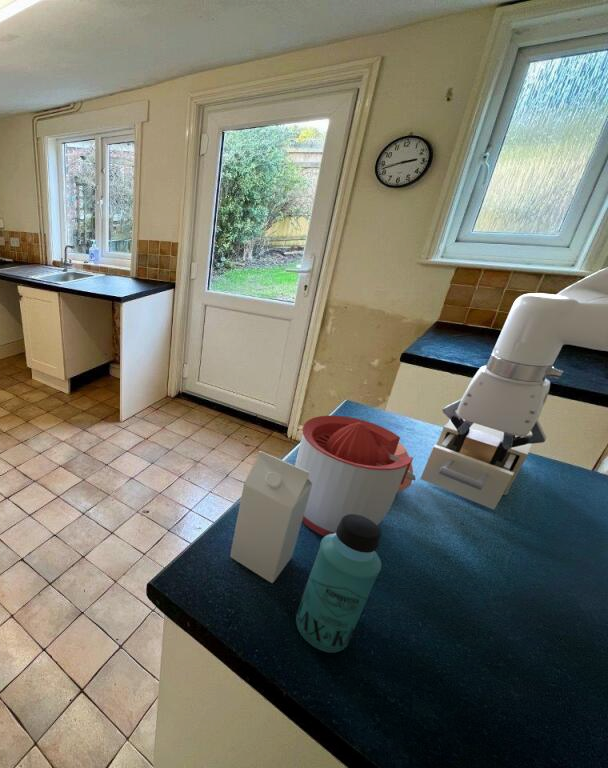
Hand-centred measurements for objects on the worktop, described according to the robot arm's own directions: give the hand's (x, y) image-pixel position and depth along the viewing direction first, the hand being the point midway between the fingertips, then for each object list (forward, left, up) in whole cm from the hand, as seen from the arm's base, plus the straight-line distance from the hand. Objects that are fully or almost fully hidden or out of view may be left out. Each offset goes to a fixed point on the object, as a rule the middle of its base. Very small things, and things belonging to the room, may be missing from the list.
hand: (475, 455), depth 78 cm
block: (0, 0, 0) cm, 0 cm away
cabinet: (0, -11, -8) cm, 14 cm away
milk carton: (+16, +46, -8) cm, 49 cm away
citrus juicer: (+12, +28, -8) cm, 31 cm away
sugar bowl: (+13, +11, -8) cm, 19 cm away
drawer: (0, 0, -7) cm, 7 cm away
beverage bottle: (+4, +52, -8) cm, 52 cm away
